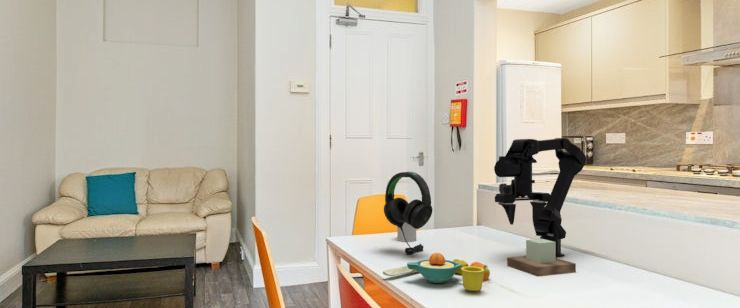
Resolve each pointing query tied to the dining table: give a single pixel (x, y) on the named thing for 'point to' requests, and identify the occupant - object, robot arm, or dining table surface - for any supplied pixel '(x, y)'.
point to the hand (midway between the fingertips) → (523, 223)
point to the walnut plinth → (541, 266)
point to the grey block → (406, 233)
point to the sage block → (541, 250)
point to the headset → (408, 207)
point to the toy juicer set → (446, 271)
